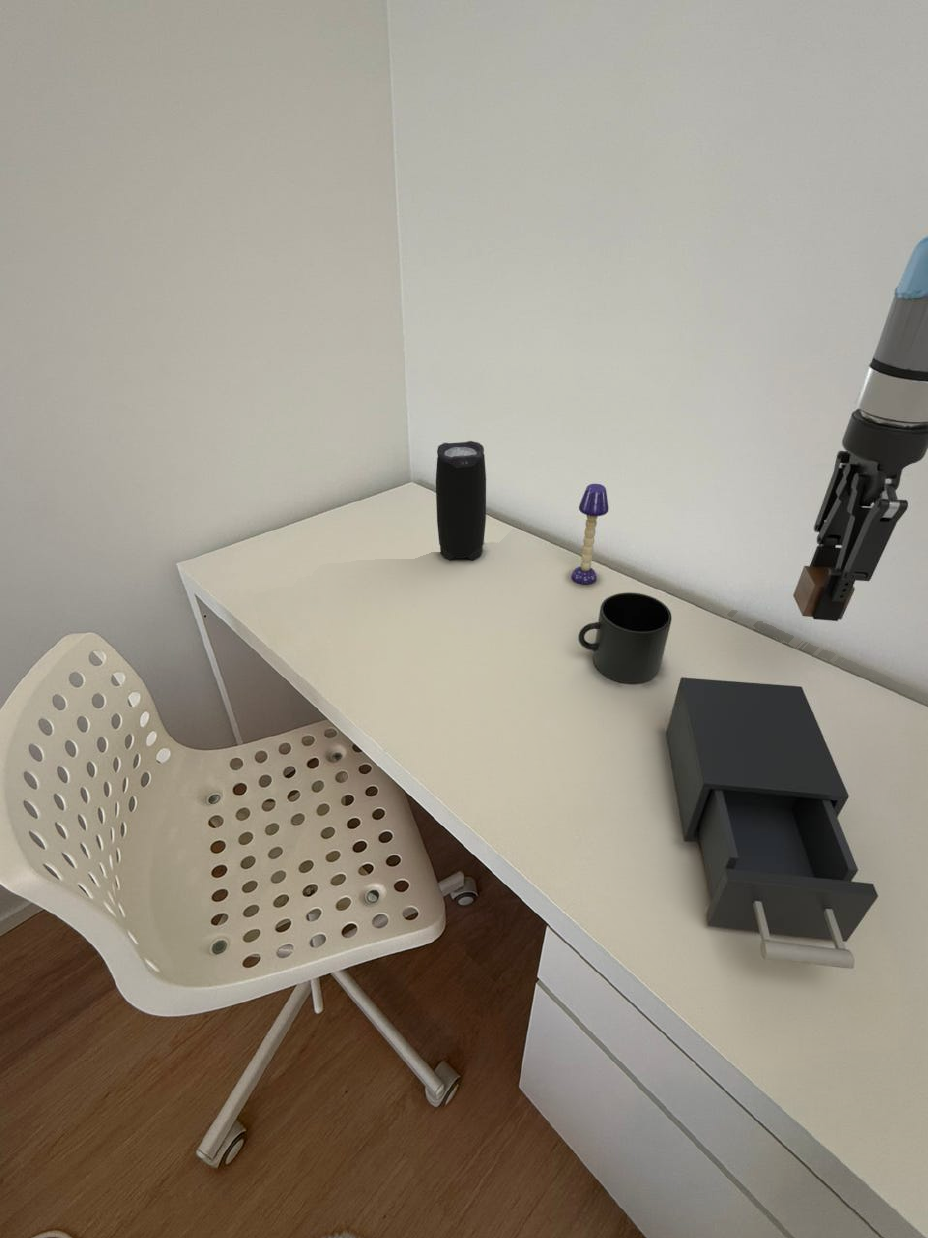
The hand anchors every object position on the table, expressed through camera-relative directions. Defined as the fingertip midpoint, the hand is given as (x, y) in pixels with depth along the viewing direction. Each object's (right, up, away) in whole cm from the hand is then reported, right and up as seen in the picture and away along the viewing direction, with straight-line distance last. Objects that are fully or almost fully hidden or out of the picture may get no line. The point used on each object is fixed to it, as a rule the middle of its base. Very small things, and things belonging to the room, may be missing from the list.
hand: (818, 605), depth 78 cm
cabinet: (-12, -21, -3) cm, 24 cm away
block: (0, 0, 0) cm, 0 cm away
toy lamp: (-22, +5, +32) cm, 40 cm away
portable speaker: (-43, +10, +39) cm, 59 cm away
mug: (-21, -8, +15) cm, 27 cm away
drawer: (-13, -28, -14) cm, 34 cm away
